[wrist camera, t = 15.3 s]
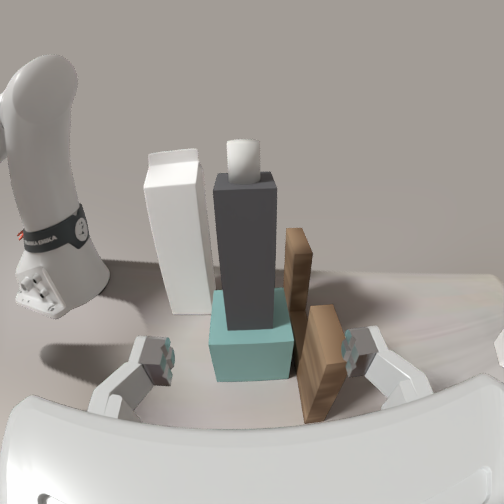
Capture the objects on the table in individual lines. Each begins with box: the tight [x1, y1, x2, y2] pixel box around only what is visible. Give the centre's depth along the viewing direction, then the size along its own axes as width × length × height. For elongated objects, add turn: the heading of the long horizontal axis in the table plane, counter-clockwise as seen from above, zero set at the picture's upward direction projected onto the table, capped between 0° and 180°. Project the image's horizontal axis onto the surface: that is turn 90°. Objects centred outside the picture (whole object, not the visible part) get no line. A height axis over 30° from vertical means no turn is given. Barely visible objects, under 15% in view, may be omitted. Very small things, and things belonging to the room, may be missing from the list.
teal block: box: [209, 288, 294, 382], centre depth 29 cm, size 8×8×7 cm
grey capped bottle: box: [213, 139, 277, 331], centre depth 23 cm, size 4×4×17 cm
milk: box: [144, 148, 216, 315], centre depth 34 cm, size 6×6×22 cm
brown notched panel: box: [283, 228, 348, 424], centre depth 28 cm, size 2×20×12 cm, turn 2°
